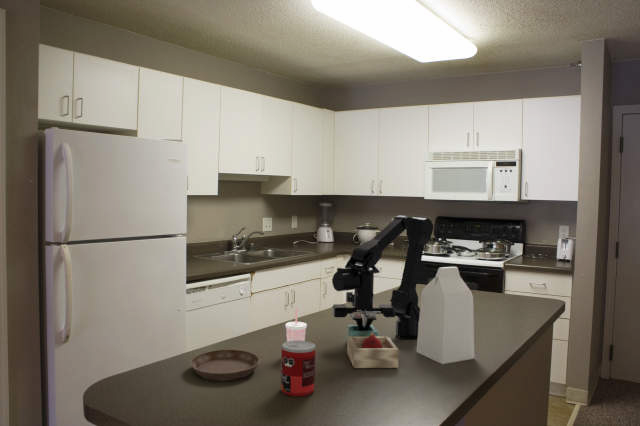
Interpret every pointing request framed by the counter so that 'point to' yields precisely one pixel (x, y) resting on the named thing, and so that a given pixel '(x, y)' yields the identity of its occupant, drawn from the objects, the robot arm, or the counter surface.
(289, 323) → the beverage cup
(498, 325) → the counter surface
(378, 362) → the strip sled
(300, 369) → the canned food
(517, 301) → the counter surface
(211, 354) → the plant saucer
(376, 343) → the onion
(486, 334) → the counter surface
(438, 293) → the milk
